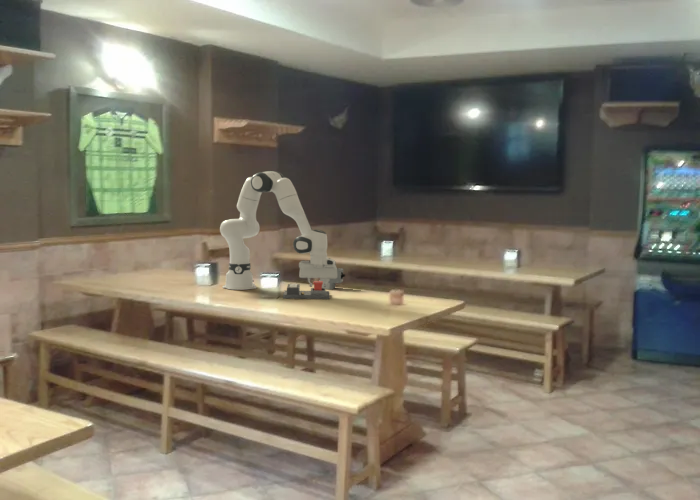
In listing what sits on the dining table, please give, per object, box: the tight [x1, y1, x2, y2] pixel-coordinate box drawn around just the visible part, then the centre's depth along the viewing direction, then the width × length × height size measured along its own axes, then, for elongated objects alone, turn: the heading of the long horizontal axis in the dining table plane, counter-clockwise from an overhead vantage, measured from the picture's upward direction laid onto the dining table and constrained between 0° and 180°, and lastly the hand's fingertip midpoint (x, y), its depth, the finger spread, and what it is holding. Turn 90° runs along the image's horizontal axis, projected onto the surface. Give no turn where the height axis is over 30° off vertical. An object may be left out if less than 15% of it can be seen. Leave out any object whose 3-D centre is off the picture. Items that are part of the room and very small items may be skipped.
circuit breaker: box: [318, 261, 346, 290], centre depth 391 cm, size 8×14×15 cm, turn 78°
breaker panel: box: [282, 283, 330, 300], centre depth 361 cm, size 14×24×6 cm, turn 93°
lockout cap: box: [312, 280, 323, 290], centre depth 362 cm, size 5×5×6 cm
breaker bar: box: [289, 283, 298, 288], centre depth 361 cm, size 11×4×3 cm, turn 3°
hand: (318, 286), depth 361 cm, fingers open, 6 cm apart
